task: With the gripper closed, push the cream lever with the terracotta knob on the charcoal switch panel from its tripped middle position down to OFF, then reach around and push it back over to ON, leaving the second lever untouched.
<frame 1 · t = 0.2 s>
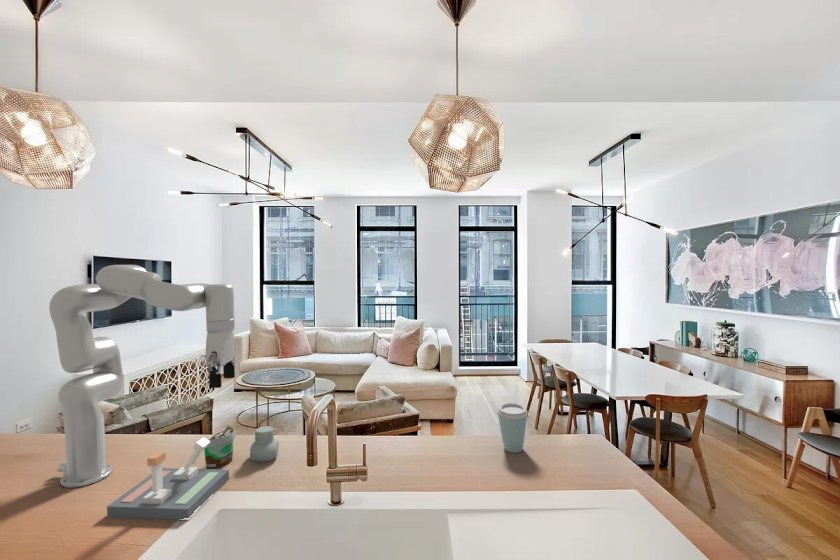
hand: (222, 382, 122), 31 cm above the kitchen island, tool pointing down, fingers open, 9 cm apart
disposable coffee cup: (512, 449, 145), on the kitchen island
switch panel: (173, 496, 117), on the kitchen island
food container: (224, 463, 136), on the kitchen island
tripped lever: (157, 472, 110), point 10 cm above the kitchen island, hinge at 0.0°
second lever: (195, 455, 122), point 9 cm above the kitchen island, hinge at 33.0°
air freshener: (264, 458, 139), on the kitchen island
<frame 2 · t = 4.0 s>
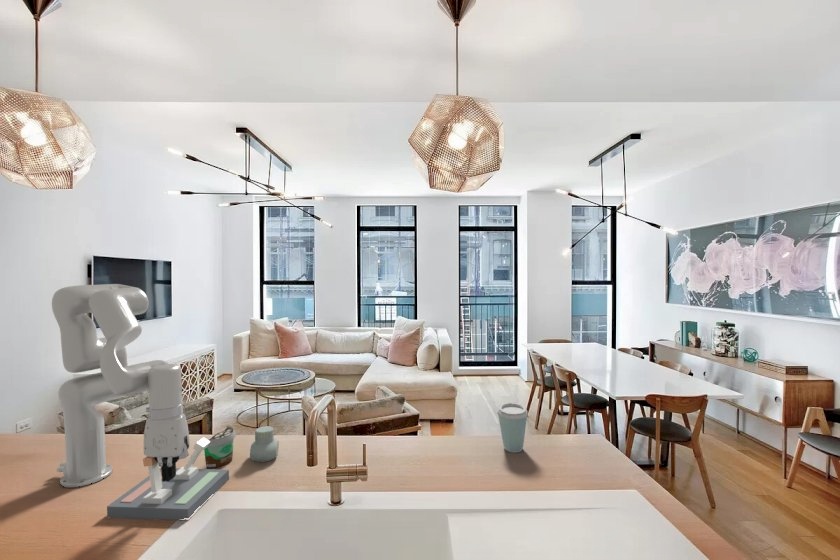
hand: (169, 478, 110), 9 cm above the kitchen island, tool pointing down, fingers closed
tripped lever: (154, 472, 110), point 10 cm above the kitchen island, hinge at -6.7°, touching gripper
everything else where it was.
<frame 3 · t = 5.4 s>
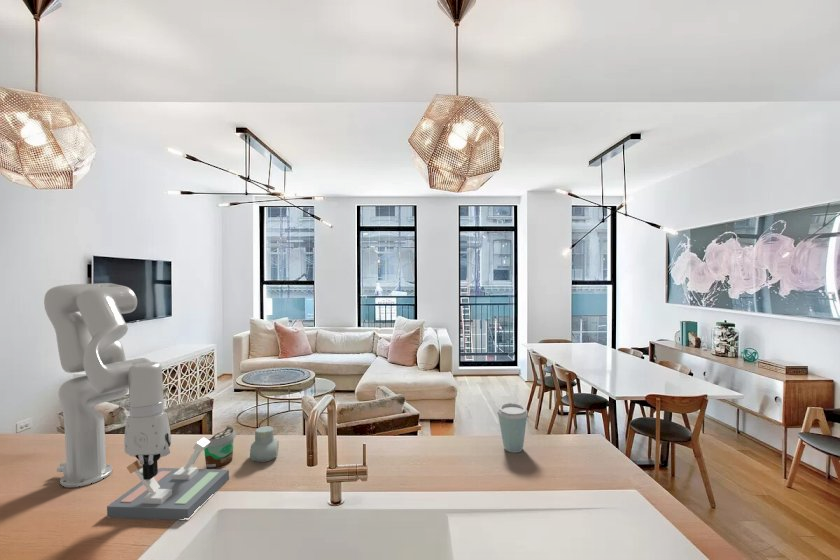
hand: (150, 476, 110), 9 cm above the kitchen island, tool pointing down, fingers closed
tripped lever: (145, 476, 110), point 9 cm above the kitchen island, hinge at -35.5°, touching gripper
everything else where it was.
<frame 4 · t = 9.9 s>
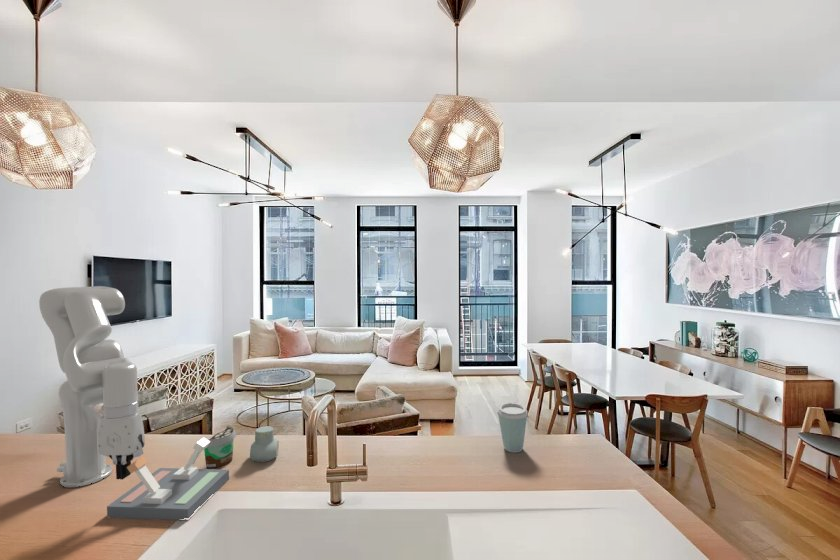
hand: (123, 476, 111), 9 cm above the kitchen island, tool pointing down, fingers closed
tripped lever: (145, 476, 110), point 9 cm above the kitchen island, hinge at -35.1°, touching gripper
everything else where it was.
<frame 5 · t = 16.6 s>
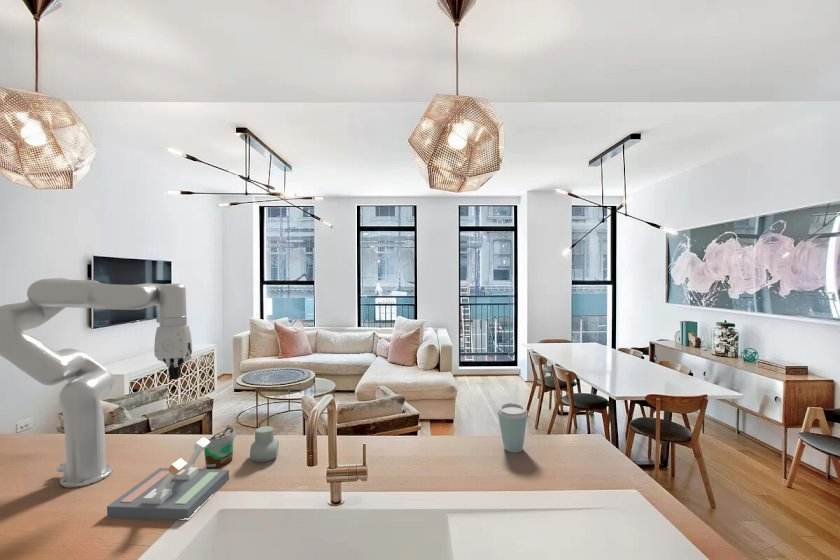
hand: (175, 378, 133), 29 cm above the kitchen island, tool pointing down, fingers closed
tripped lever: (169, 477, 110), point 9 cm above the kitchen island, hinge at 37.8°
everything else where it was.
at the end: tripped lever at +38° (first picture: +0°); second lever at +33° (first picture: +33°); food container moved 0.2 cm from its start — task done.
